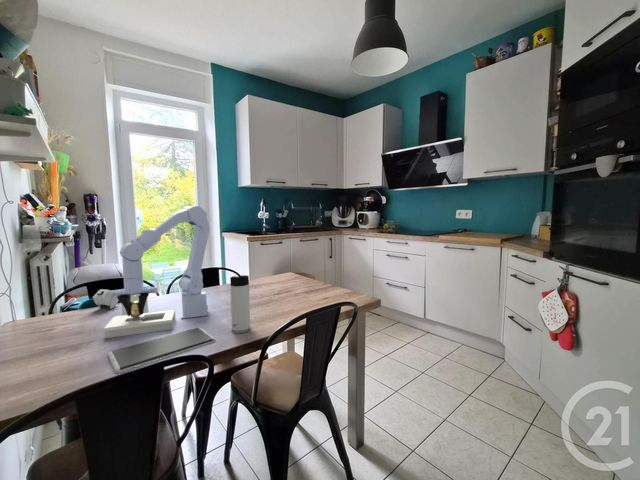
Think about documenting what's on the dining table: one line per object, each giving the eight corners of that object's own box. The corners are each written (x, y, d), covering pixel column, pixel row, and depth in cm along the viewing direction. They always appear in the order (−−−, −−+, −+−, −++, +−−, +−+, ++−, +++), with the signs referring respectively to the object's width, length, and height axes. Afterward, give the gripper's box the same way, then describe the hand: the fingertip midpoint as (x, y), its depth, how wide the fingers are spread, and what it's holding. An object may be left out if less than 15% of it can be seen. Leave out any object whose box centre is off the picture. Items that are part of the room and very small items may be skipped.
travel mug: (234, 335, 97) (232, 277, 95) (230, 328, 103) (228, 274, 101) (252, 331, 100) (250, 275, 98) (247, 325, 106) (246, 272, 104)
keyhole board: (175, 318, 112) (175, 309, 112) (172, 329, 102) (171, 319, 102) (114, 325, 105) (114, 316, 105) (104, 338, 95) (104, 328, 95)
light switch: (121, 320, 106) (122, 294, 116) (123, 331, 108) (123, 304, 118) (148, 316, 110) (146, 290, 120) (149, 326, 113) (147, 301, 123)
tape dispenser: (103, 311, 125) (87, 298, 118) (112, 298, 130) (98, 285, 123) (115, 312, 124) (100, 299, 117) (124, 299, 129) (110, 286, 122)
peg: (147, 325, 105) (145, 300, 104) (138, 330, 100) (136, 304, 99) (135, 325, 105) (133, 299, 104) (125, 330, 100) (123, 303, 100)
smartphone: (216, 343, 93) (216, 338, 93) (116, 376, 74) (115, 369, 74) (200, 331, 103) (200, 326, 102) (107, 357, 84) (107, 351, 84)
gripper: (158, 273, 107) (160, 308, 109) (112, 276, 102) (115, 313, 103) (155, 277, 101) (157, 314, 102) (105, 280, 96) (108, 320, 97)
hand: (135, 314), depth 102 cm, fingers closed on peg, 3 cm apart
